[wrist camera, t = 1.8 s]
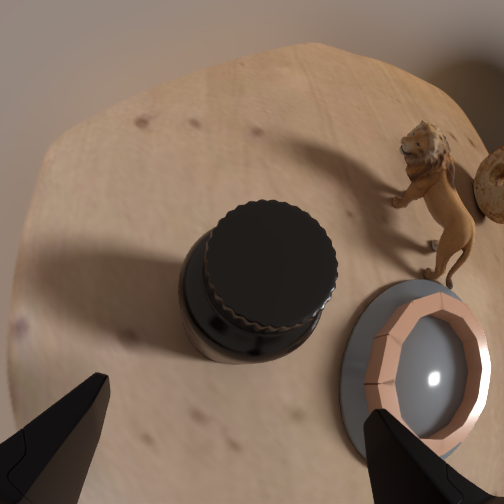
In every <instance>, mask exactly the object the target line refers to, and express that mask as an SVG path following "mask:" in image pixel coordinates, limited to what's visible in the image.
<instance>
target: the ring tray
mask: <svg viewBox="0 0 504 504" xmlns="http://www.w3.org/2000/svg"><path fill="white" fill-rule="evenodd" d="M483 331H484V330H483V328H482V327H481V325H480V324H479V322H478V320H477V319H476V317H475V316H474V314H473V313H472V311H471V310H470V308H469V307H468V305H467V304H466V303H464V302H463V301H462V300H461V299H460V298H459V297H458V296H457V295H456V294H455V293H453V292H452V291H451V290H450V289H448V288H446V287H445V286H443V285H441V284H439V283H436V282H433V281H429V280H421V279H415V280H408V281H404V282H402V283H399V284H396V285H394V286H392V287H391V288H389V289H387V290H385V291H384V292H382V293H381V294H380V295H378V296H377V297H376V298H375V299H374V300H373V301H372V302H371V303H370V304H369V305H368V306H367V307H366V309H365V310H364V312H363V313H362V314H361V316H360V317H359V319H358V321H357V322H356V324H355V326H354V328H353V330H352V332H351V335H350V337H349V339H348V342H347V345H346V349H345V352H344V355H343V360H342V366H341V371H340V383H339V393H340V406H341V413H342V418H343V421H344V425H345V428H346V431H347V433H348V435H349V438H350V440H351V442H352V443H353V445H354V446H355V448H356V450H357V451H358V452H359V453H360V454H361V455H362V457H363V458H364V459H366V451H365V441H364V431H363V425H364V422H365V420H366V419H367V418H368V417H369V415H370V414H371V412H372V411H373V410H374V409H378V408H384V409H386V410H387V411H389V412H390V413H391V414H392V415H393V416H394V417H395V418H396V419H397V420H399V421H400V422H401V423H402V424H403V425H404V426H405V427H406V428H407V429H409V430H410V431H411V432H412V433H413V434H414V435H415V436H417V437H418V438H419V439H420V440H421V441H422V442H423V443H424V444H426V445H427V446H428V447H429V448H430V449H431V450H432V451H434V452H435V453H436V454H437V455H438V456H439V457H440V458H442V459H443V460H444V459H446V458H447V457H448V456H449V455H450V454H451V453H452V452H453V451H454V450H455V449H456V448H457V447H458V446H459V445H460V443H461V442H462V441H463V440H464V439H465V438H467V436H468V435H469V434H470V432H471V430H472V428H473V427H474V425H475V423H476V421H477V419H478V417H479V415H480V414H481V412H482V410H483V408H484V406H485V404H484V403H486V398H487V391H488V385H489V378H490V370H491V367H490V366H491V364H490V358H489V352H488V347H487V342H486V337H485V333H484V332H483Z"/></svg>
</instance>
